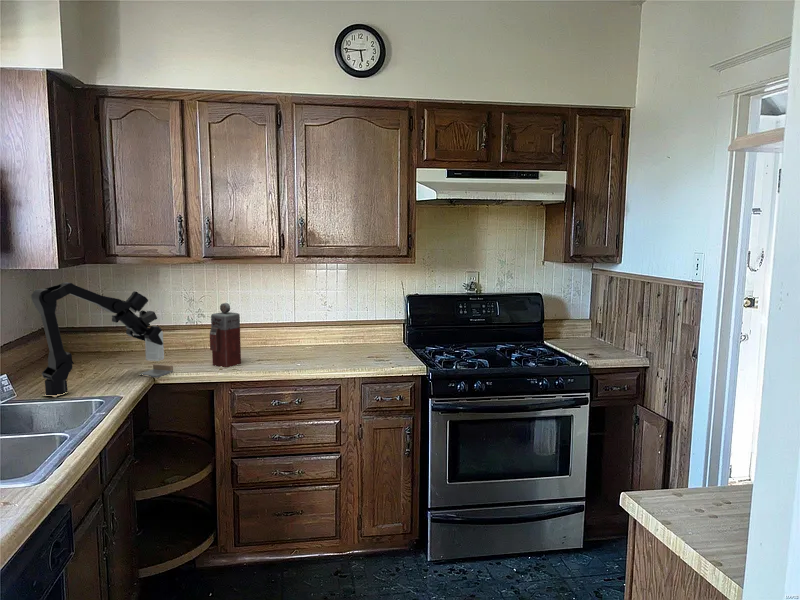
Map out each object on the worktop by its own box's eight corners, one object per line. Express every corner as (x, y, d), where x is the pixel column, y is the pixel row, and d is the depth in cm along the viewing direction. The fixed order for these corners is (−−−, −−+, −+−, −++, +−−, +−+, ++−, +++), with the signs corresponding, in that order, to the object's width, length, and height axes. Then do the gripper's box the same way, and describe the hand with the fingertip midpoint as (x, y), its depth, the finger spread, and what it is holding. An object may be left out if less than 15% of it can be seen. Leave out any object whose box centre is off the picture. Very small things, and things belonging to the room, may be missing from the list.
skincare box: (164, 359, 242) (163, 331, 241) (158, 361, 238) (157, 333, 237) (151, 358, 244) (150, 330, 242) (145, 360, 239) (144, 332, 238)
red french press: (208, 366, 256) (206, 304, 252) (227, 361, 265) (225, 301, 262) (222, 368, 251) (220, 305, 248) (241, 363, 261) (239, 302, 257)
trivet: (156, 377, 236) (156, 370, 235) (138, 375, 238) (138, 369, 238) (173, 371, 245) (172, 365, 245) (155, 370, 248) (155, 363, 248)
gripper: (156, 307, 229) (181, 330, 239) (131, 303, 240) (157, 325, 250) (138, 329, 224) (165, 352, 234) (114, 324, 235) (140, 346, 245)
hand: (157, 343), depth 241 cm, fingers closed on skincare box, 7 cm apart
